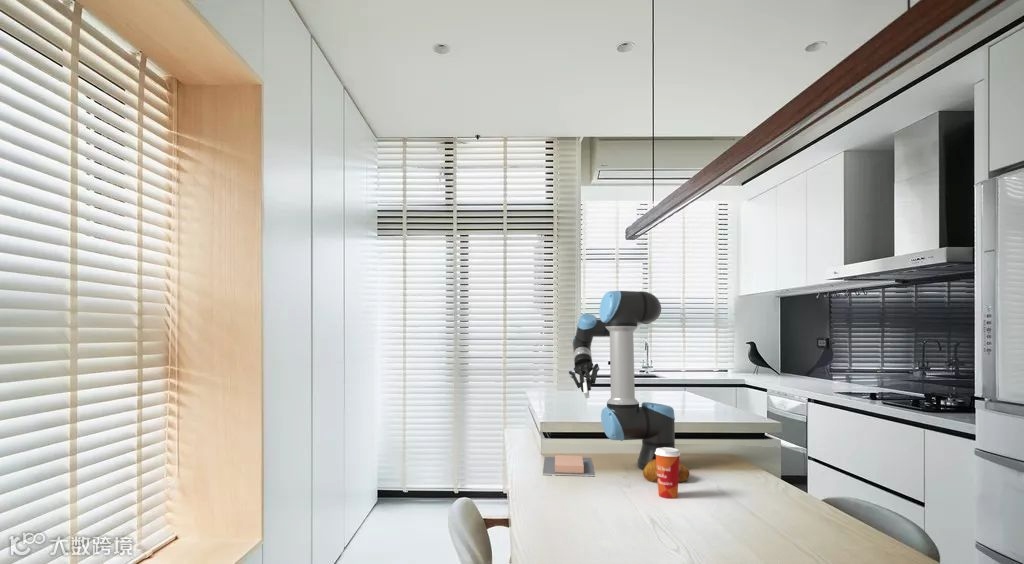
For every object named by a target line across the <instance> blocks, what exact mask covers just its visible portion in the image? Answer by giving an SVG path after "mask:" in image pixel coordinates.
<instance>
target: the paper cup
mask: <svg viewBox="0 0 1024 564" xmlns="http://www.w3.org/2000/svg"><path fill="white" fill-rule="evenodd" d="M655 454H656V465H657V480H658V482H657V489H658V492H657V493H658V497H660V498H664V499H668V500H670V499H677V498H678V495H679V493H678V492H679V482H678V476H679V462H680V456H681V453H680V450H679V449H678V448H676V447H675V448H668V447H664V448H657V449H656V452H655Z"/></svg>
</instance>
